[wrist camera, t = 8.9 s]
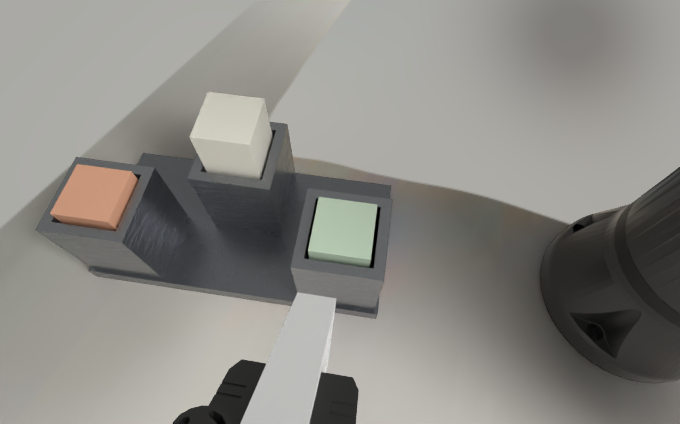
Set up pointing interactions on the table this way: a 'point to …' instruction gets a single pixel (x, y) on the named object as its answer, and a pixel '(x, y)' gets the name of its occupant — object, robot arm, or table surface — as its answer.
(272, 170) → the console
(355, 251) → the sage button
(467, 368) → the table surface
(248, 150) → the ivory button
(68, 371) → the table surface
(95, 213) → the terracotta button
